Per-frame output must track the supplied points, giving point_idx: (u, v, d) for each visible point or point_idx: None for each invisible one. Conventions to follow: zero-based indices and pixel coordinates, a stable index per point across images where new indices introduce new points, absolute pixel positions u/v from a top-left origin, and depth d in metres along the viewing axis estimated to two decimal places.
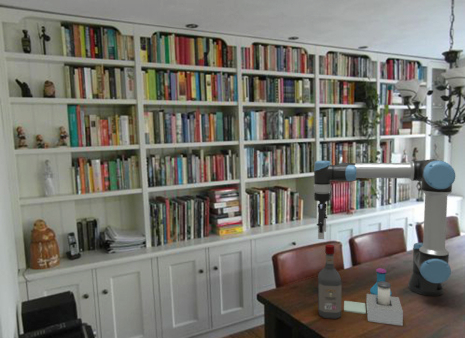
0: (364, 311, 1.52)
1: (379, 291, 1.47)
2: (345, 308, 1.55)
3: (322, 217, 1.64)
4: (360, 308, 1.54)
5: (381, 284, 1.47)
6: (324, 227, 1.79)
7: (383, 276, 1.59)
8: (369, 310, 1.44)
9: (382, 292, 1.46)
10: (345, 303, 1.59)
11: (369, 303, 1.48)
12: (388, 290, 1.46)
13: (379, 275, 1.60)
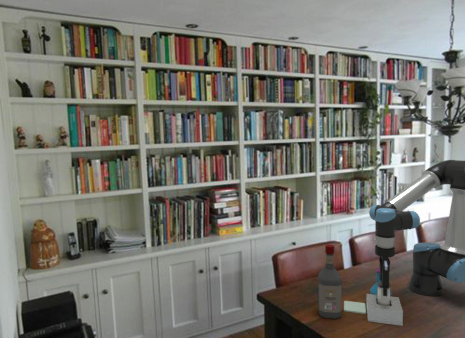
0: (364, 311, 1.52)
1: (379, 291, 1.47)
2: (345, 308, 1.55)
3: (387, 280, 1.41)
4: (360, 308, 1.54)
5: (381, 284, 1.47)
6: None
7: None
8: (369, 310, 1.44)
9: None
10: (345, 303, 1.59)
11: (369, 303, 1.48)
12: (388, 290, 1.46)
13: (379, 275, 1.60)
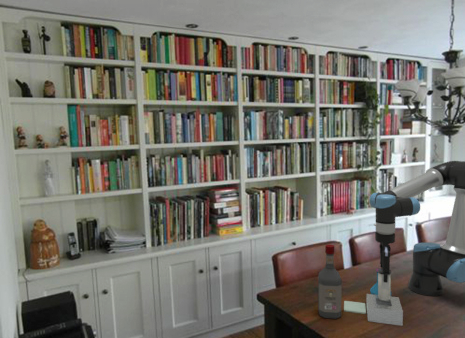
0: (364, 311, 1.52)
1: (379, 278, 1.47)
2: (345, 308, 1.55)
3: (388, 266, 1.41)
4: (360, 308, 1.54)
5: (381, 271, 1.47)
6: None
7: None
8: (369, 310, 1.44)
9: None
10: (345, 303, 1.59)
11: (369, 303, 1.48)
12: None
13: None
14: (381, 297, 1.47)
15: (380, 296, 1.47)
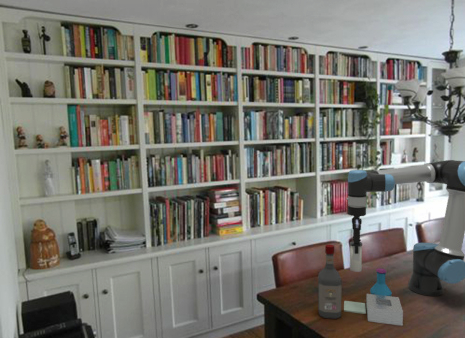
0: (364, 311, 1.52)
1: (351, 250, 1.53)
2: (345, 308, 1.55)
3: (358, 237, 1.47)
4: (360, 308, 1.54)
5: (353, 243, 1.53)
6: None
7: (383, 276, 1.59)
8: (369, 310, 1.44)
9: None
10: (345, 303, 1.59)
11: (369, 303, 1.48)
12: None
13: (379, 275, 1.60)
14: (352, 268, 1.53)
15: (352, 267, 1.53)
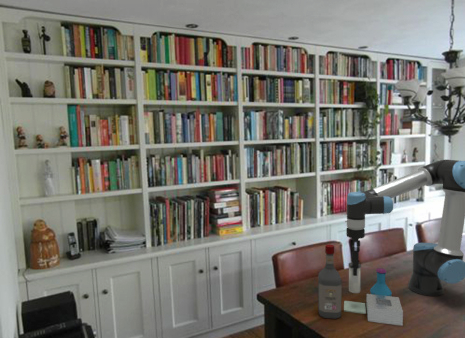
0: (364, 311, 1.52)
1: (350, 271, 1.54)
2: (345, 308, 1.55)
3: (357, 260, 1.48)
4: (360, 308, 1.54)
5: None
6: None
7: (383, 276, 1.59)
8: (369, 310, 1.44)
9: None
10: (345, 303, 1.59)
11: (369, 303, 1.48)
12: (358, 270, 1.53)
13: (379, 275, 1.60)
14: (351, 290, 1.54)
15: (350, 289, 1.54)
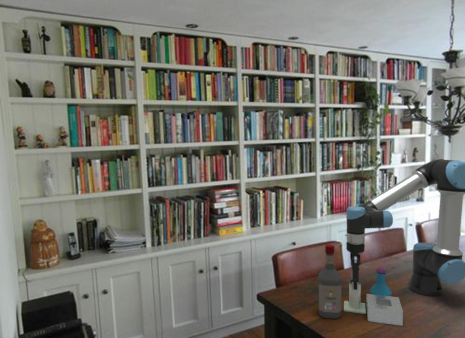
0: (364, 311, 1.52)
1: (350, 287, 1.55)
2: (345, 308, 1.55)
3: (357, 273, 1.47)
4: (360, 308, 1.54)
5: None
6: None
7: (383, 276, 1.59)
8: (369, 310, 1.44)
9: None
10: (345, 303, 1.59)
11: (369, 303, 1.48)
12: None
13: (379, 275, 1.60)
14: (351, 305, 1.55)
15: (350, 304, 1.55)
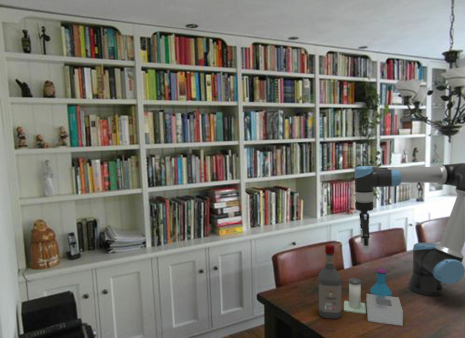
0: (364, 311, 1.52)
1: (350, 287, 1.55)
2: (345, 308, 1.55)
3: (367, 229, 1.48)
4: (360, 308, 1.54)
5: (352, 280, 1.55)
6: None
7: (383, 276, 1.59)
8: (369, 310, 1.44)
9: (352, 288, 1.54)
10: (345, 303, 1.59)
11: (369, 303, 1.48)
12: (358, 286, 1.53)
13: (379, 275, 1.60)
14: (351, 305, 1.55)
15: (350, 305, 1.55)
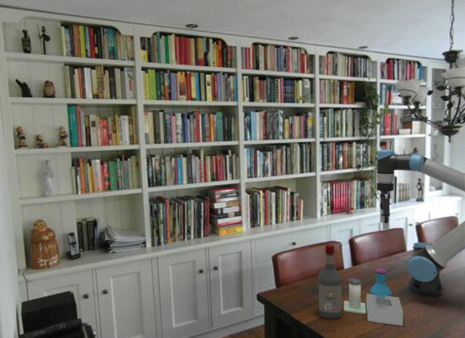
0: (364, 311, 1.52)
1: (350, 287, 1.55)
2: (345, 308, 1.55)
3: (388, 207, 1.60)
4: (360, 308, 1.54)
5: (352, 280, 1.55)
6: None
7: (383, 276, 1.59)
8: (369, 310, 1.44)
9: (352, 288, 1.54)
10: (345, 303, 1.59)
11: (369, 303, 1.48)
12: (358, 286, 1.53)
13: (379, 275, 1.60)
14: (351, 305, 1.55)
15: (350, 305, 1.55)
